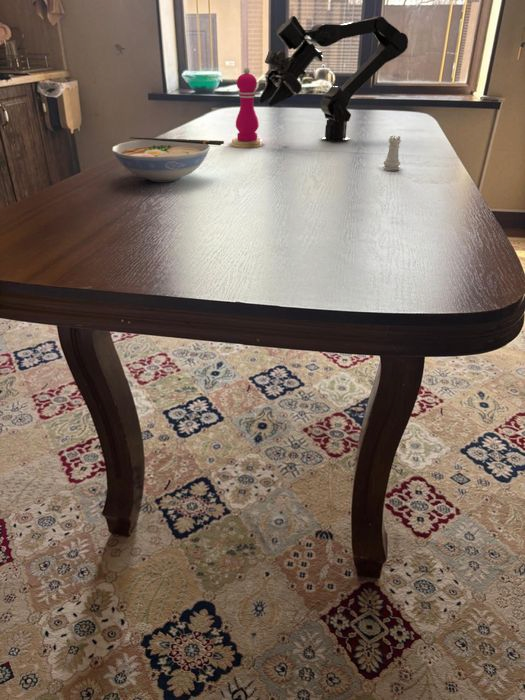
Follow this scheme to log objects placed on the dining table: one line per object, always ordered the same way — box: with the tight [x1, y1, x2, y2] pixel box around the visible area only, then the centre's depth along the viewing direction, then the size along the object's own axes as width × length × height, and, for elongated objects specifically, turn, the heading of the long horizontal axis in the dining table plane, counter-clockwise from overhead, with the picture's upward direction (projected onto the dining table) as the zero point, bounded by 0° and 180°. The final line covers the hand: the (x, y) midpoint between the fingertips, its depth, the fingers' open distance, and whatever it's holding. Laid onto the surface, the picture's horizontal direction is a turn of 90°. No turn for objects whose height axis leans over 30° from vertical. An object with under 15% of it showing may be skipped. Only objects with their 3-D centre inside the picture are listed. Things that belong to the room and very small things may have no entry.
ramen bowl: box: [111, 137, 225, 183], centre depth 124 cm, size 25×23×8 cm
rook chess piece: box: [382, 135, 402, 172], centre depth 134 cm, size 4×4×8 cm
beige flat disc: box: [230, 137, 263, 149], centre depth 164 cm, size 10×10×2 cm
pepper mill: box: [235, 67, 260, 141], centre depth 159 cm, size 7×7×20 cm
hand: (264, 103), depth 160 cm, fingers open, 9 cm apart
